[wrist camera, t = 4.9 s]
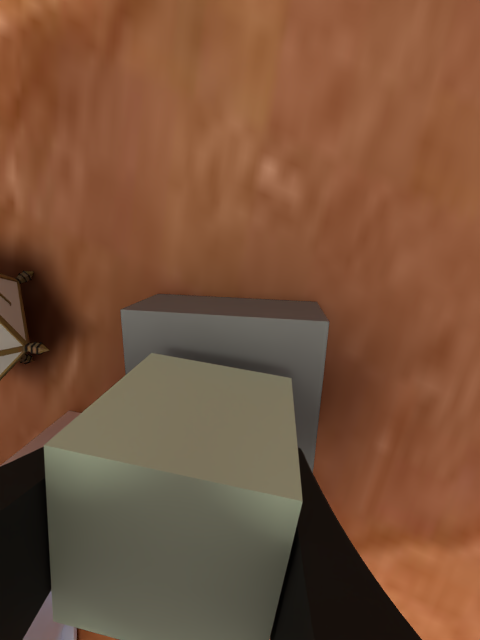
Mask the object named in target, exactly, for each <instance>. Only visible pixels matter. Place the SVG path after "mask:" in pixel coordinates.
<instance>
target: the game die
mask: <svg viewBox="0 0 480 640" xmlns="http://www.w3.org/2000/svg"><path fill="white" fill-rule="evenodd" d="M33 272H34V271H23V272H22V273H21V274H20V273H19V274H18V276H17V277H16V278H13V277H10V276H7V275H4V274H1V273H0V380H1V379H2V378H3V377H4V376H5V375H6V374H7V373H8V372H9V370H10V369H11V368H12V367H13V366H14V365H15V364H16V363H17V362H18V361H20V363H22V362H23V363H24V364H27V363H30V362H32V361H34V360H33V358H32V356H31V355H29V354H25V353H26V352H27V351H29V352H31V354H33V353H36V355H39V354H42V353H43V352H46V351H49V349H47V348H46V347H45V346H44V345H43V343H42V342H40V343H37V342H34V343H31V344H30V341H29V335H28V329H27V323H26V317H25V311H24V305H23V299H22V293H21V286H20V284H21V283H23V282H27V281H28V280H32V279H31V277H32V275H33Z"/></svg>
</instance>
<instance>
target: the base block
mask: <svg viewBox="0 0 480 640" xmlns="http://www.w3.org/2000/svg"><path fill="white" fill-rule="evenodd" d="M121 321H122V334H123V347H124V359H125V372H126V374H128V373H129V372H130V371H131V370H132V369H133V368H135V367H136V366H137V365H138V364H139V363H140V362H142V361H143V360H144V359H145V358H146V357H147V356H149V355H150V354H151V353H155V354H160V355H166V356H172V357H177V358H183V359H188V360H194V361H199V362H205V363H211V364H216V365H222V366H227V367H233V368H238V369H244V370H249V371H255V372H261V373H266V374H272V375H277V376H283V377H288V378H291V380H292V391H293V402H294V413H295V424H296V435H297V445H298V448H301V450H302V451H303V453H304V455H305V458H306V460H307V462H308V464H309V467H310V469H311V471H312V473H313V466H314V457H315V448H316V438H317V429H318V420H319V411H320V402H321V393H322V384H323V374H324V365H325V356H326V347H327V338H328V329H329V320H328V319H327V317H326V316H325V314H324V313H323V311H322V310H321V308H320V306H319V305H318V303H317V302H309V301H289V300H269V299H249V298H230V297H210V296H190V295H170V294H157V295H154V296H152V297H149V298H147V299H145V300H142V301H140V302H137V303H135V304H133V305H130V306H128V307H125V308H123V309H121Z"/></svg>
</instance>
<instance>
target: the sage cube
mask: <svg viewBox="0 0 480 640" xmlns="http://www.w3.org/2000/svg"><path fill="white" fill-rule="evenodd" d="M44 460H45V479H46V497H47V516H48V535H49V553H50V572H51V591H52V610H53V621H54V622H58V623H61V624H65V625H68V626H72V627H76V628H79V629H83V630H87V631H90V632H94V633H98V634H101V635H105V636H109V637H112V638H116V639H120V640H269V639H270V635H271V631H272V626H273V622H274V618H275V614H276V610H277V606H278V602H279V597H280V593H281V589H282V585H283V581H284V577H285V572H286V568H287V564H288V560H289V556H290V552H291V548H292V543H293V539H294V535H295V531H296V527H297V523H298V518H299V514H300V510H301V506H302V502H303V500H302V489H301V478H300V467H299V456H298V445H297V435H296V424H295V413H294V402H293V391H292V380H291V378H288V377H283V376H277V375H272V374H266V373H261V372H255V371H249V370H244V369H238V368H233V367H227V366H222V365H216V364H211V363H205V362H199V361H194V360H188V359H183V358H177V357H172V356H166V355H160V354H155V353H151V354H150V355H149V356H147V357H146V358H145V359H144V360H143V361H142V362H140V363H139V364H138V365H137V366H136V367H135V368H133V369H132V370H131V371H130V372H129V373H128V374H126V375H125V376H124V377H123V378H122V379H121V380H119V381H118V382H117V383H116V384H115V385H114V386H112V387H111V388H110V389H109V390H108V391H107V392H105V393H104V394H103V395H102V396H101V397H100V398H98V399H97V400H96V401H95V402H94V403H93V404H91V405H90V406H89V407H88V408H87V409H86V410H84V411H83V412H82V413H81V414H80V415H78V416H77V417H76V418H75V419H74V420H73V421H71V422H70V423H69V424H68V425H67V426H66V427H64V428H63V429H62V430H61V431H60V432H59V433H57V434H56V435H55V436H54V437H53V438H52V439H50V440H49V441H48V442H47V443H46V444H45V445H44Z"/></svg>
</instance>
